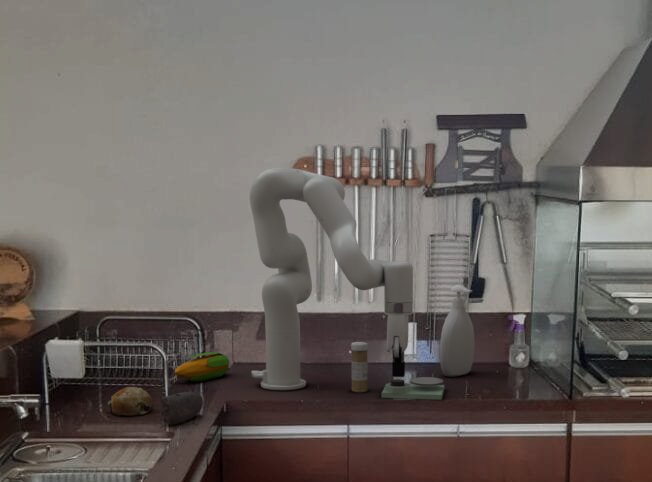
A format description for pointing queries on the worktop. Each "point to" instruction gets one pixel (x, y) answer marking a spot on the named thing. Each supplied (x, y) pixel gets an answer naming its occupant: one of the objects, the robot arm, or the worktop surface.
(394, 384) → the power button
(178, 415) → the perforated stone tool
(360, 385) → the sprinkles bottle
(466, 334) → the soap bottle
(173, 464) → the worktop surface
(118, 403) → the bread roll
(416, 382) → the platter
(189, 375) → the corn
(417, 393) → the scale
